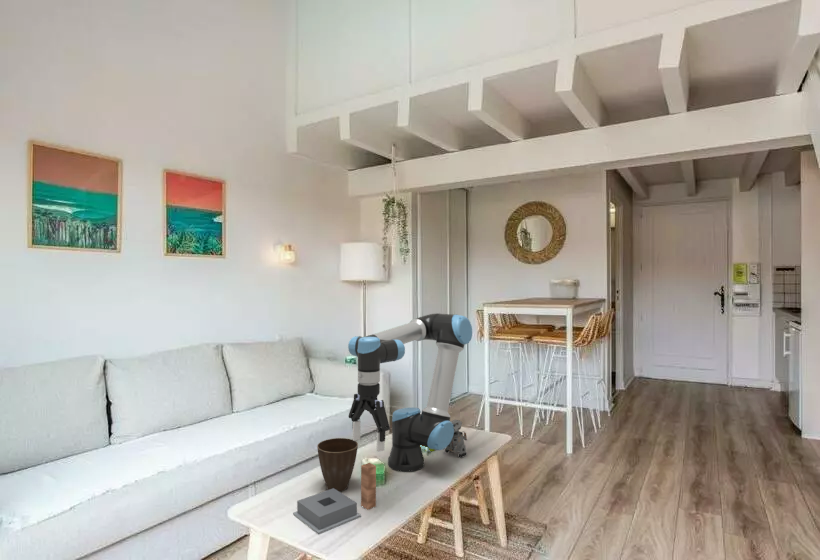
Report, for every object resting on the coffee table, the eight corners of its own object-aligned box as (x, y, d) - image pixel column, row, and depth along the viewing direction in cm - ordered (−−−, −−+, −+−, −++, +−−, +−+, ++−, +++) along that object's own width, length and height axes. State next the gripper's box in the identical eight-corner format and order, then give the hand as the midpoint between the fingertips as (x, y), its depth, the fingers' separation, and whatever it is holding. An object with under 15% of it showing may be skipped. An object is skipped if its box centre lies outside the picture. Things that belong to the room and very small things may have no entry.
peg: (369, 502, 166) (369, 462, 165) (375, 506, 163) (376, 465, 163) (361, 506, 163) (361, 465, 163) (367, 510, 161) (367, 468, 160)
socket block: (334, 499, 168) (334, 486, 168) (361, 516, 156) (361, 502, 156) (293, 514, 157) (293, 500, 157) (318, 534, 146) (318, 519, 145)
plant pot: (335, 475, 188) (335, 435, 187) (365, 484, 180) (365, 442, 180) (308, 490, 175) (308, 447, 174) (340, 500, 167) (340, 455, 167)
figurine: (436, 456, 208) (436, 421, 208) (453, 449, 216) (453, 416, 216) (452, 462, 202) (452, 426, 201) (469, 454, 210) (469, 420, 209)
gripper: (339, 378, 169) (338, 437, 169) (382, 391, 151) (382, 458, 151) (356, 375, 174) (355, 433, 174) (400, 387, 156) (400, 452, 156)
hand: (368, 445), depth 163 cm, fingers open, 13 cm apart
